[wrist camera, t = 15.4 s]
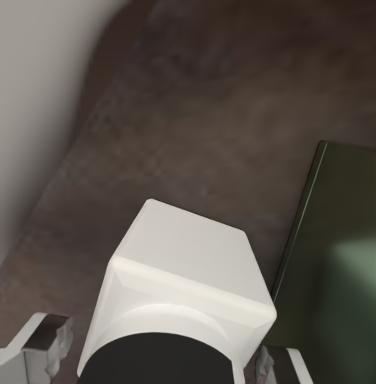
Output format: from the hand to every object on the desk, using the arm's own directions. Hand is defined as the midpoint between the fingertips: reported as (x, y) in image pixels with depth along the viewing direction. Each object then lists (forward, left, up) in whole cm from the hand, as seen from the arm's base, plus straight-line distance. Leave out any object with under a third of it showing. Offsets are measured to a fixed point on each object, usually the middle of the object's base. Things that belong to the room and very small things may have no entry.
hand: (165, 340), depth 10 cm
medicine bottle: (0, 0, -7) cm, 7 cm away
